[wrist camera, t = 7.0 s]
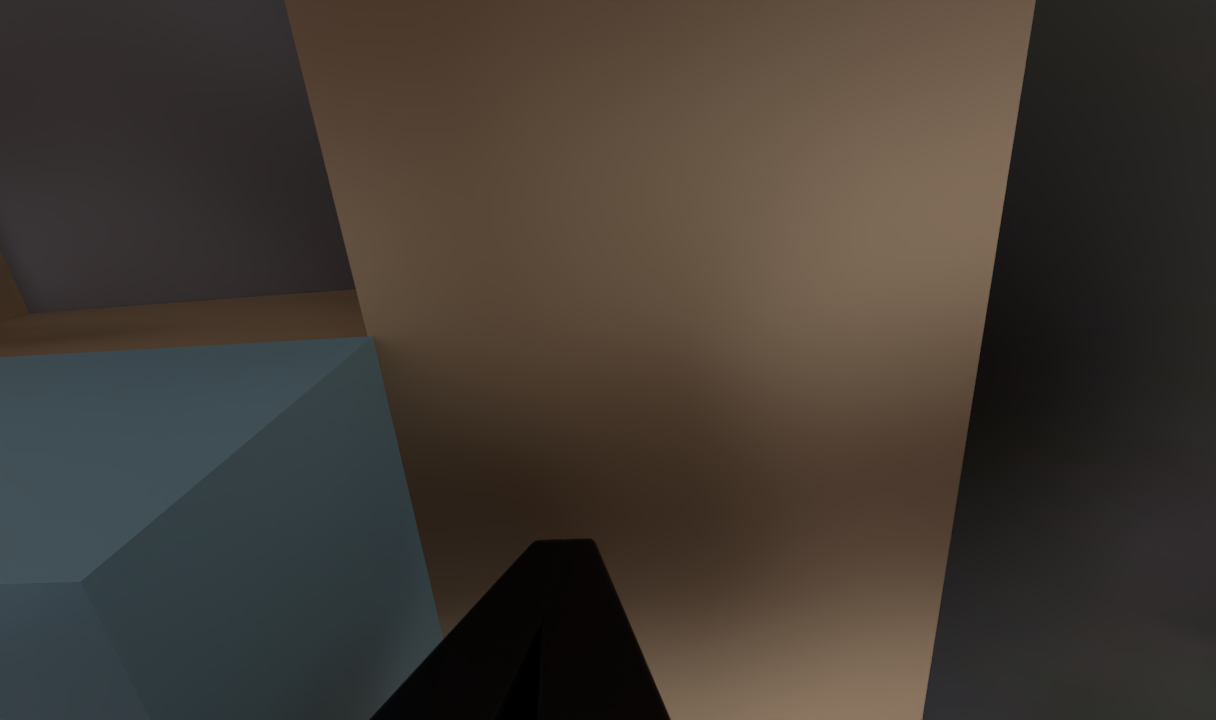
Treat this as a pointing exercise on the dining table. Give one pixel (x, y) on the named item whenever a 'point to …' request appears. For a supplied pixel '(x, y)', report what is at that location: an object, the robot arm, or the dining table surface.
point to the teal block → (206, 536)
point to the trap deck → (570, 280)
